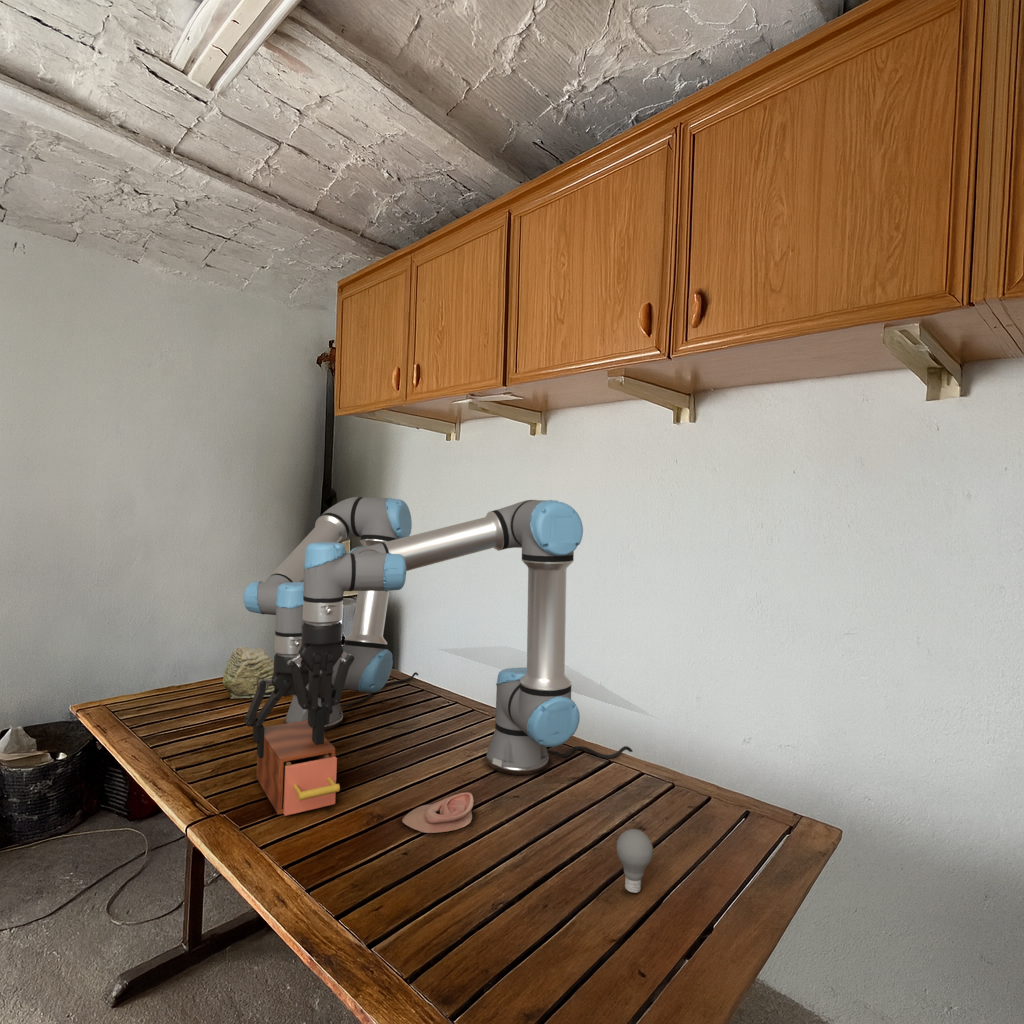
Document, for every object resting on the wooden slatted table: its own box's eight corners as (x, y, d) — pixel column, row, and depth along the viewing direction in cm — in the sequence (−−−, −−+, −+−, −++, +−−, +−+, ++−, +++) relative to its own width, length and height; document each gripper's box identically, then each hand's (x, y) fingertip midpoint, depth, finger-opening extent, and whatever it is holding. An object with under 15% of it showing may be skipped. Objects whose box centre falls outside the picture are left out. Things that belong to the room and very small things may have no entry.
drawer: (344, 816, 125) (346, 768, 124) (292, 829, 119) (294, 779, 119) (309, 770, 144) (311, 729, 144) (263, 780, 138) (265, 737, 138)
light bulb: (610, 879, 108) (613, 822, 108) (644, 879, 109) (647, 822, 109) (619, 902, 102) (622, 840, 102) (655, 901, 103) (658, 840, 103)
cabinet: (333, 801, 132) (335, 748, 132) (277, 814, 126) (279, 758, 125) (307, 767, 148) (309, 719, 147) (256, 777, 141) (258, 727, 141)
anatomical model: (396, 808, 122) (417, 782, 133) (395, 828, 122) (416, 801, 133) (463, 818, 119) (478, 791, 130) (462, 839, 119) (477, 810, 131)
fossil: (218, 695, 195) (220, 647, 195) (278, 685, 208) (279, 640, 207) (228, 703, 189) (230, 653, 188) (289, 692, 201) (290, 645, 201)
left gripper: (238, 662, 131) (234, 767, 131) (349, 651, 144) (345, 747, 144) (231, 654, 137) (227, 754, 137) (338, 644, 150) (335, 736, 150)
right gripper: (293, 628, 117) (288, 755, 117) (361, 623, 124) (356, 742, 124) (283, 620, 123) (278, 741, 123) (348, 616, 130) (343, 730, 130)
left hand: (288, 750), depth 141 cm, fingers closed on cabinet, 11 cm apart
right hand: (317, 741), depth 124 cm, fingers closed
